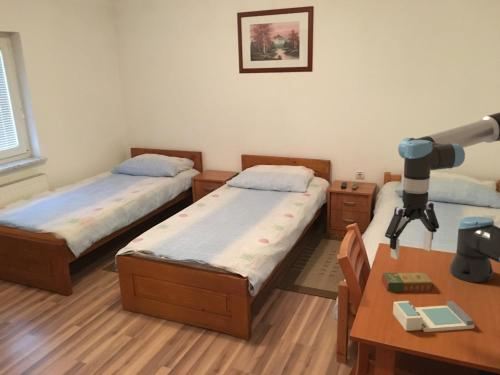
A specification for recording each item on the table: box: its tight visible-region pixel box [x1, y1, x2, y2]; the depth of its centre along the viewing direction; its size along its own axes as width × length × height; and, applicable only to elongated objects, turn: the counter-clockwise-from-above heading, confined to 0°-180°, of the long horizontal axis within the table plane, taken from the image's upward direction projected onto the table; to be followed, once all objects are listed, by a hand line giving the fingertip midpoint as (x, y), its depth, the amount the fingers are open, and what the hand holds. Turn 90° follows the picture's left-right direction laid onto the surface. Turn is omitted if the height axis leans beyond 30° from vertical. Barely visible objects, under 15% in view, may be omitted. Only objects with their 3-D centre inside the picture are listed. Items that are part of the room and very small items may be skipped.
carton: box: [381, 271, 433, 293], centre depth 161 cm, size 8×16×4 cm, turn 88°
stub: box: [392, 300, 422, 332], centre depth 138 cm, size 5×10×4 cm, turn 5°
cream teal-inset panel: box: [414, 300, 475, 333], centre depth 139 cm, size 16×12×3 cm
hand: (410, 253), depth 138 cm, fingers open, 13 cm apart
